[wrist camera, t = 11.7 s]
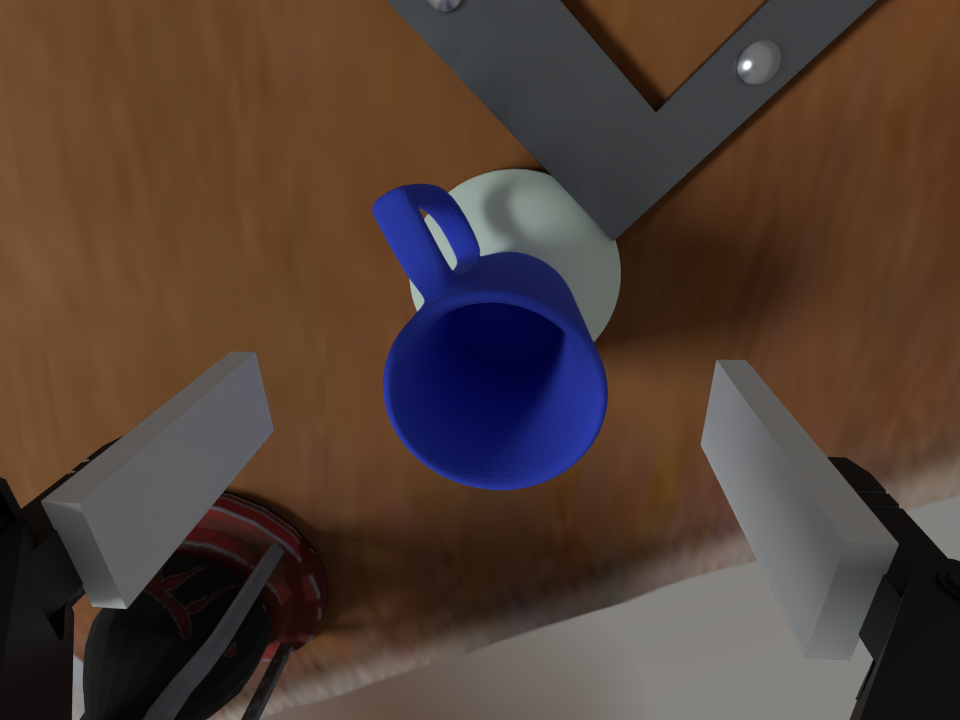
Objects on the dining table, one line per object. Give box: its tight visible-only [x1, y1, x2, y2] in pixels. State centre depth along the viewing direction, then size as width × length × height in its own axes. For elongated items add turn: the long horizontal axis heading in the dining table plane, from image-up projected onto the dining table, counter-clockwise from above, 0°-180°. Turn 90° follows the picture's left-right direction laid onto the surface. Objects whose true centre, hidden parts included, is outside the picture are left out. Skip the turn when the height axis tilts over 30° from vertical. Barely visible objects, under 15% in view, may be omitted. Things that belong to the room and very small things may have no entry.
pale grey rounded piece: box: [410, 168, 621, 342], centre depth 28 cm, size 11×11×1 cm
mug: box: [373, 184, 608, 490], centre depth 23 cm, size 8×12×10 cm
